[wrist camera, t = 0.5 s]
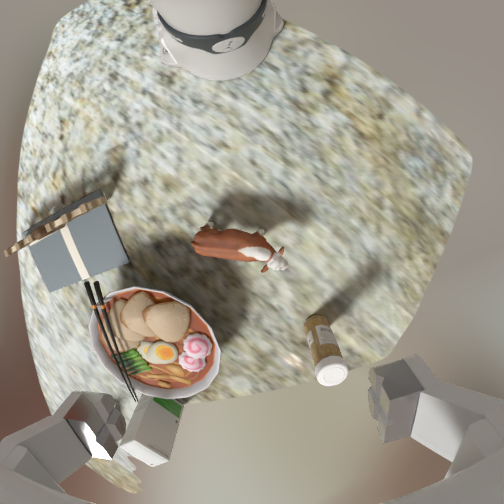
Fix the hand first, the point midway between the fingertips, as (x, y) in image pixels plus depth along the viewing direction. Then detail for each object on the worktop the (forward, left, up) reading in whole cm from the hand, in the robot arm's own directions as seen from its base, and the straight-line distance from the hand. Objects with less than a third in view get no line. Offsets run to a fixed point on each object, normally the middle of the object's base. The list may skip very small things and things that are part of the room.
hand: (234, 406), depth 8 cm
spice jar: (+24, +4, -37) cm, 45 cm away
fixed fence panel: (-8, -38, -37) cm, 54 cm away
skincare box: (+34, -32, -37) cm, 60 cm away
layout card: (-4, -32, -37) cm, 49 cm away
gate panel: (-8, -25, -36) cm, 45 cm away
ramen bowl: (+16, -22, -37) cm, 46 cm away
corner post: (-8, -32, -37) cm, 49 cm away
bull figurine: (+5, -3, -37) cm, 38 cm away
